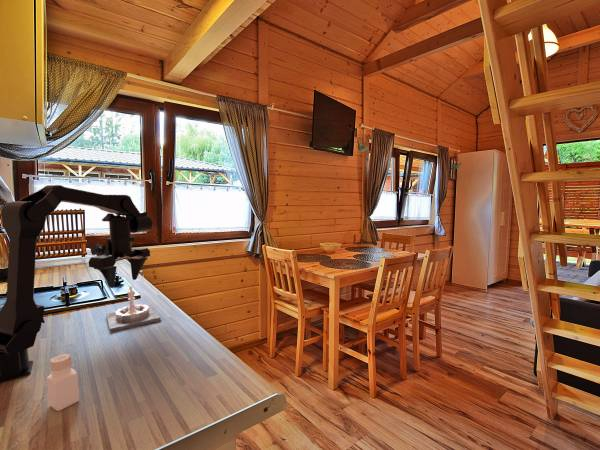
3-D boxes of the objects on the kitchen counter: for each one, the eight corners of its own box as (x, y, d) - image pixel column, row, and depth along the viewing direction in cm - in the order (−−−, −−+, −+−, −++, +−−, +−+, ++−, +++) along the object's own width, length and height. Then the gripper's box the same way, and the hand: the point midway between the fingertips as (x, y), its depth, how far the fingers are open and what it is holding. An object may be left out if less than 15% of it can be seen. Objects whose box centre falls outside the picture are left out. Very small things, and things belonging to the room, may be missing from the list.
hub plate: (160, 320, 101) (159, 311, 100) (110, 332, 92) (109, 322, 92) (152, 307, 112) (151, 299, 111) (106, 317, 104) (105, 308, 103)
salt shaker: (57, 413, 59) (52, 365, 58) (48, 405, 61) (43, 360, 60) (81, 401, 62) (76, 356, 61) (71, 394, 64) (67, 350, 63)
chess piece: (121, 319, 99) (119, 288, 98) (126, 313, 104) (124, 284, 103) (138, 317, 100) (137, 287, 99) (142, 311, 105) (140, 282, 104)
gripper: (123, 231, 108) (125, 274, 110) (71, 238, 90) (75, 290, 92) (150, 231, 106) (152, 276, 107) (102, 239, 88) (106, 293, 89)
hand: (123, 283), depth 99 cm, fingers open, 9 cm apart
